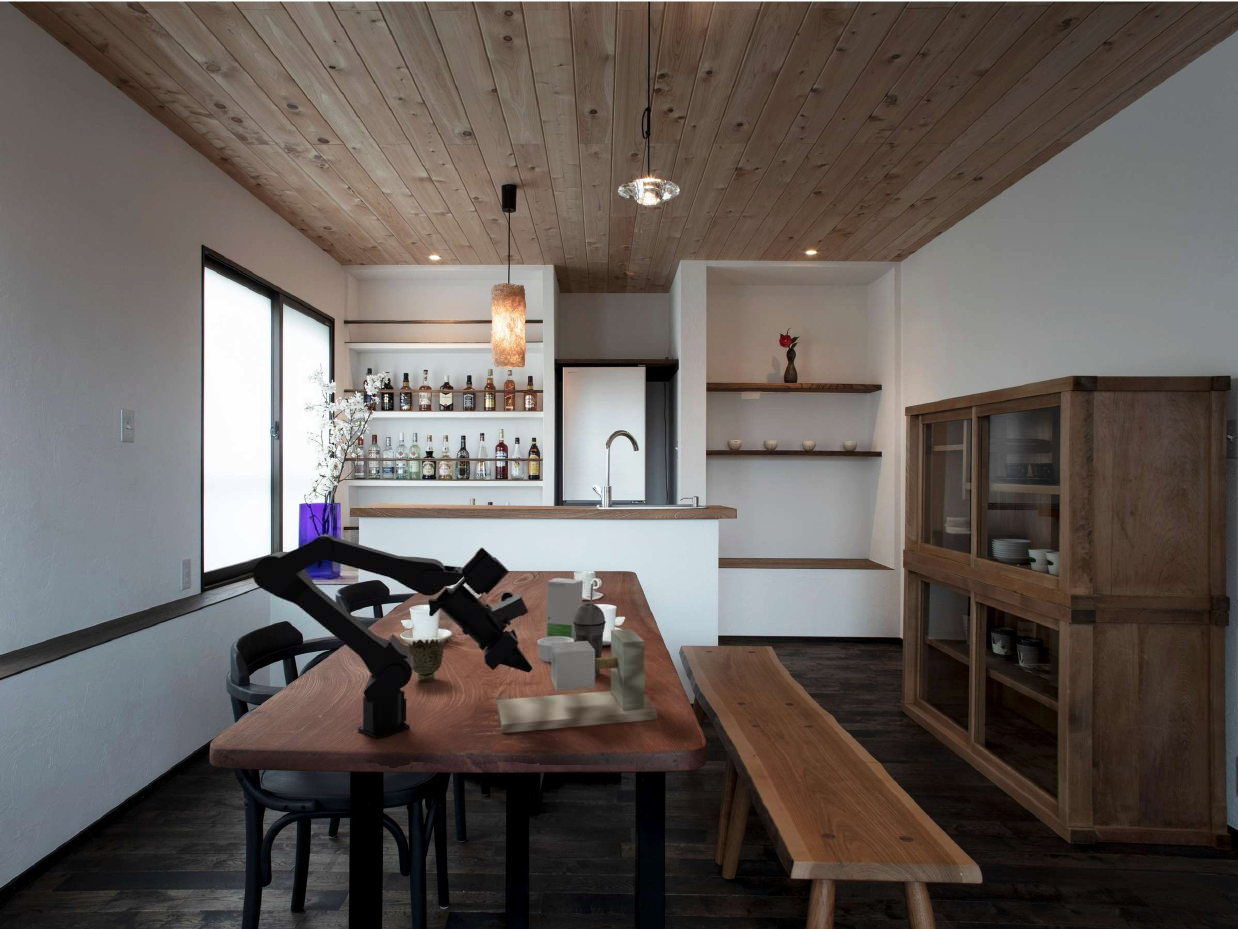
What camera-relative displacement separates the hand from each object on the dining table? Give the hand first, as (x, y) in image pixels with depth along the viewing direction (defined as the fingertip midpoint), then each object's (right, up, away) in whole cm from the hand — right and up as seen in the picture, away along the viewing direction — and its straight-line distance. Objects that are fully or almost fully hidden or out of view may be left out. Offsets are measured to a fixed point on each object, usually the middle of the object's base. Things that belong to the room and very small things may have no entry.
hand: (530, 670), depth 127 cm
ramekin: (+1, -9, +40) cm, 41 cm away
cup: (-25, -9, +22) cm, 35 cm away
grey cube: (+8, -3, +2) cm, 8 cm away
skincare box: (+2, -9, +60) cm, 60 cm away
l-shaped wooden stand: (+8, -9, +2) cm, 12 cm away
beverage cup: (+10, -9, +26) cm, 30 cm away
